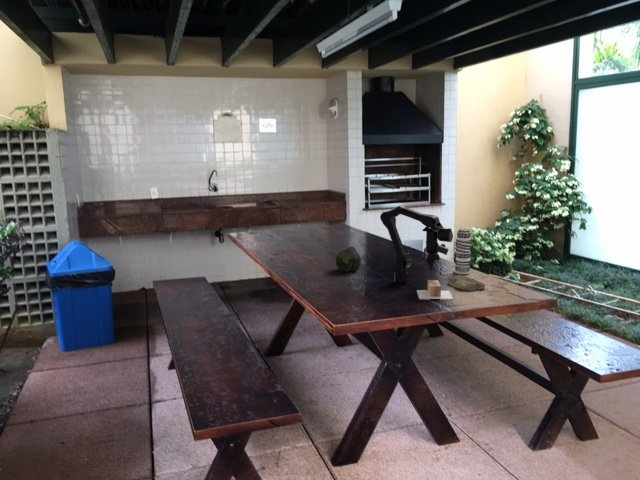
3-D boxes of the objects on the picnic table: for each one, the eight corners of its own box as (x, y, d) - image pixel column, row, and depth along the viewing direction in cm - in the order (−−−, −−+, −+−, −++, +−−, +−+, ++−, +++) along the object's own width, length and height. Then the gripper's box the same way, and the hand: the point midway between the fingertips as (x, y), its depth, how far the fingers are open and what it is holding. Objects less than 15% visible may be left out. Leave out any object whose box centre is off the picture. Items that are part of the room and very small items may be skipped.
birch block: (427, 289, 268) (430, 296, 256) (427, 280, 267) (430, 286, 255) (437, 289, 267) (440, 296, 255) (437, 280, 266) (441, 286, 254)
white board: (419, 299, 253) (419, 298, 253) (416, 291, 267) (416, 290, 267) (453, 299, 252) (453, 298, 252) (448, 291, 266) (449, 290, 265)
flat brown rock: (441, 283, 284) (462, 292, 265) (442, 274, 283) (463, 282, 264) (464, 281, 288) (486, 290, 269) (464, 272, 287) (487, 280, 268)
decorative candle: (471, 274, 300) (473, 230, 295) (454, 273, 301) (456, 230, 297) (470, 270, 308) (472, 228, 304) (453, 270, 310) (455, 227, 306)
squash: (327, 262, 309) (343, 244, 302) (338, 258, 322) (354, 241, 316) (343, 280, 305) (360, 262, 299) (354, 275, 318) (370, 258, 312)
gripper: (450, 243, 262) (449, 274, 265) (445, 237, 280) (444, 265, 283) (427, 243, 263) (426, 274, 266) (423, 236, 281) (423, 265, 284)
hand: (430, 269), depth 275 cm, fingers closed
